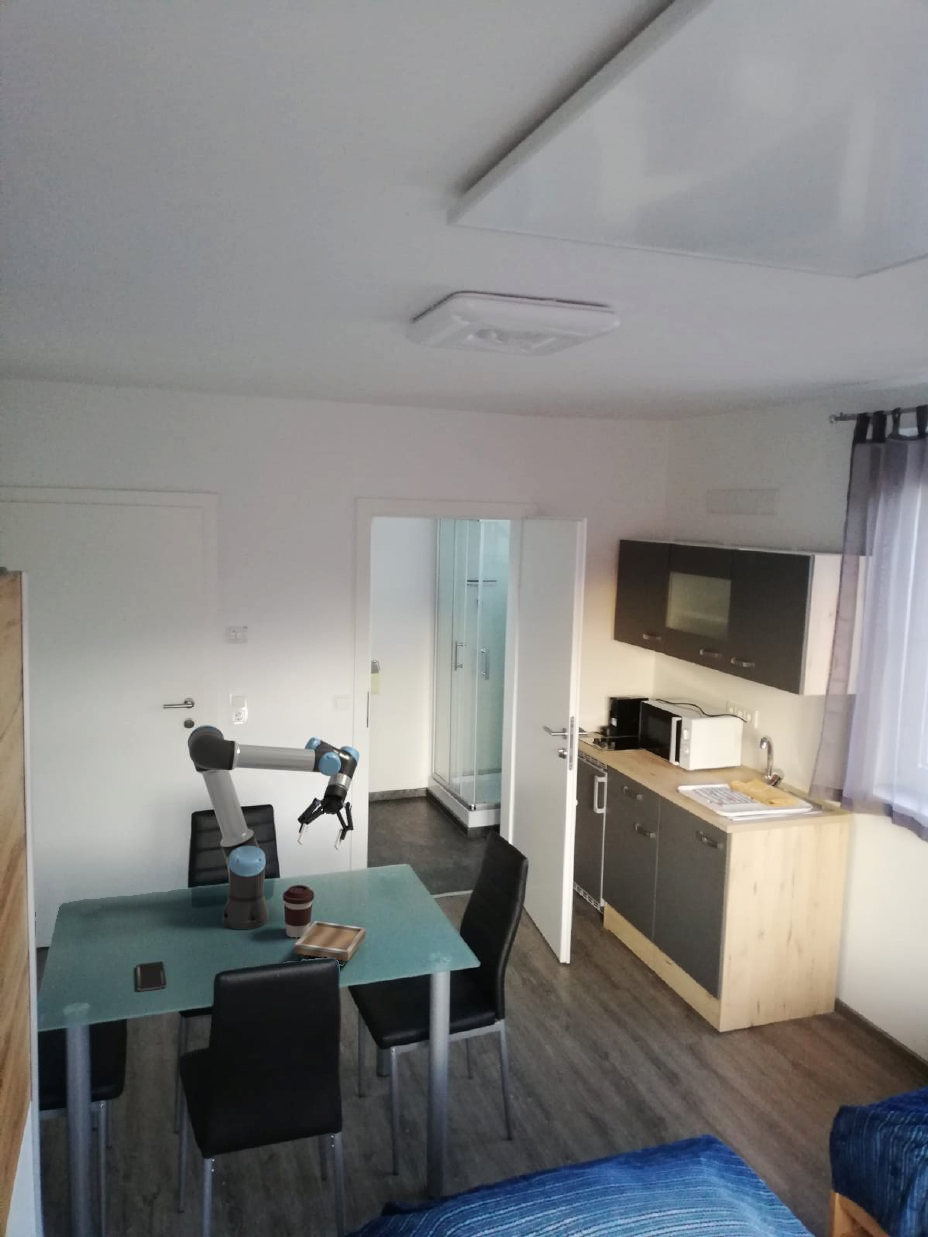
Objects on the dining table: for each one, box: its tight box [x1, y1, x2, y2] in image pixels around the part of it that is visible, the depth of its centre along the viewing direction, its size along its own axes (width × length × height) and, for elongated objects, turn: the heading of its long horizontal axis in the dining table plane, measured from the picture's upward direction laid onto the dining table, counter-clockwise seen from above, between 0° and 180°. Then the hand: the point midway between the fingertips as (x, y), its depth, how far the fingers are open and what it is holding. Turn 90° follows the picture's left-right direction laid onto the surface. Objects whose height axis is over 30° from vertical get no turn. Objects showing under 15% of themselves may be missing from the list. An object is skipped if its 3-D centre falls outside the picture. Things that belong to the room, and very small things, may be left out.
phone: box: [135, 961, 167, 993], centre depth 258 cm, size 8×1×15 cm
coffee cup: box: [282, 884, 315, 939], centre depth 290 cm, size 10×10×15 cm
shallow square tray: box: [293, 920, 367, 965], centre depth 277 cm, size 17×17×6 cm
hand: (317, 845), depth 299 cm, fingers open, 13 cm apart
